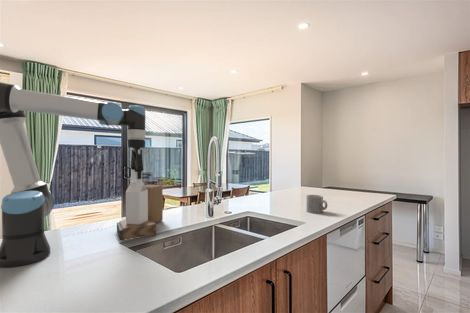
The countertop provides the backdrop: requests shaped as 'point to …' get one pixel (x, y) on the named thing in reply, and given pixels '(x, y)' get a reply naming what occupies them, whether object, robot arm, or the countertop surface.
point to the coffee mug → (315, 204)
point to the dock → (135, 229)
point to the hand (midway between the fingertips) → (136, 184)
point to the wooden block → (155, 202)
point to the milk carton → (136, 204)
